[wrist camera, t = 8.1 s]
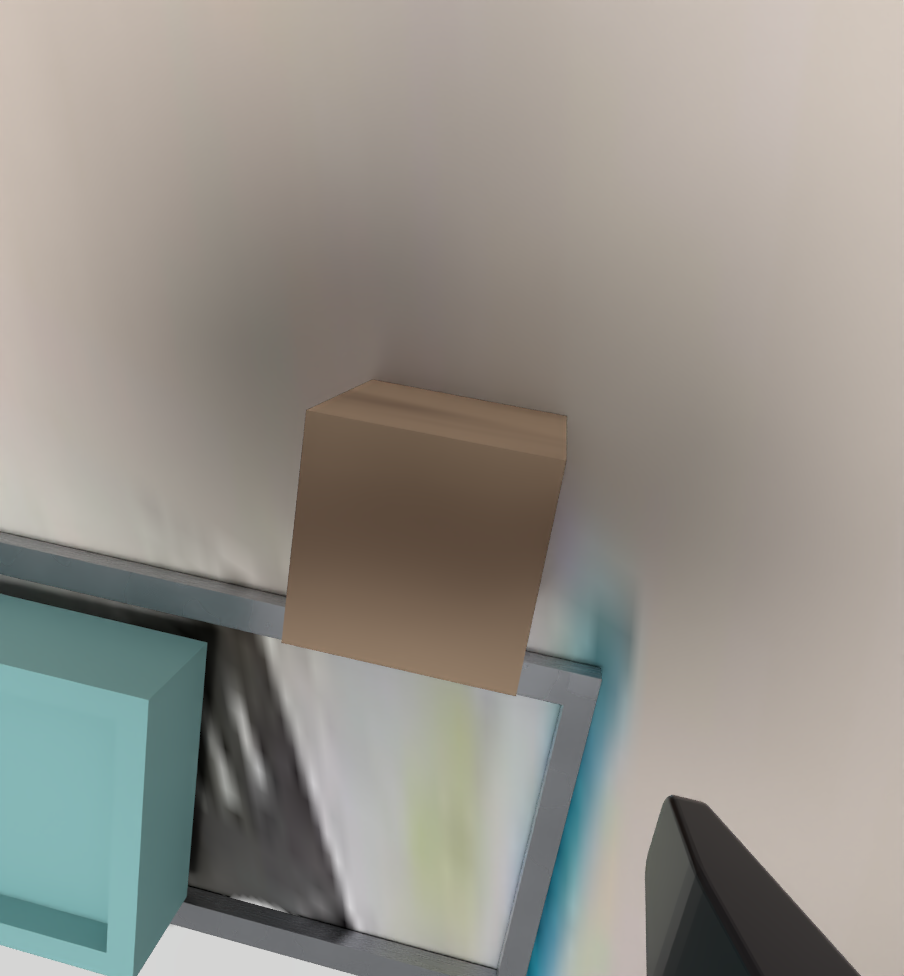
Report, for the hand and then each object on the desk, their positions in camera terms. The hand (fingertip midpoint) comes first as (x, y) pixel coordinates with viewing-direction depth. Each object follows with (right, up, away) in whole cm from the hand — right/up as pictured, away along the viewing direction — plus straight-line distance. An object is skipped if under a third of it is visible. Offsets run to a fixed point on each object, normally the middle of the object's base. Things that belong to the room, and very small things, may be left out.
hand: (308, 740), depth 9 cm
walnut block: (+2, +3, +11) cm, 11 cm away
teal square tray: (-10, -5, +14) cm, 18 cm away
